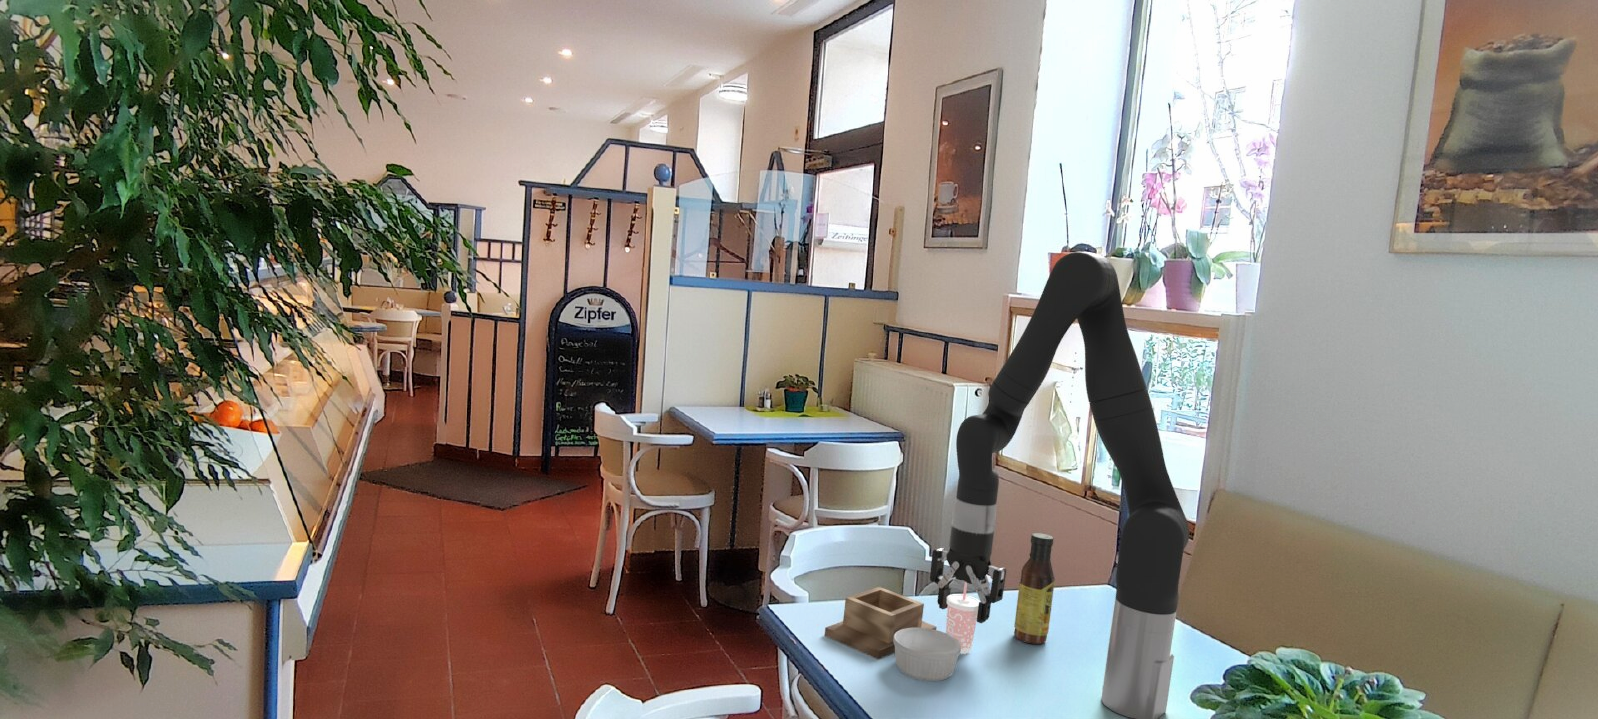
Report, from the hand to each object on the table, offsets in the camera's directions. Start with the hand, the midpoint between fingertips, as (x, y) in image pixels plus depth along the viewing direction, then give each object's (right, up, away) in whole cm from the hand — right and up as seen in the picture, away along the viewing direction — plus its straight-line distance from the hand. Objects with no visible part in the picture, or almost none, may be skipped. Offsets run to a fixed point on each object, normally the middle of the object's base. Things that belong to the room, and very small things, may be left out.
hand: (962, 614), depth 163 cm
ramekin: (-8, -7, -10) cm, 14 cm away
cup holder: (-14, -5, +3) cm, 15 cm away
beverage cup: (-1, -6, +1) cm, 6 cm away
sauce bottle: (+14, -7, +9) cm, 18 cm away
